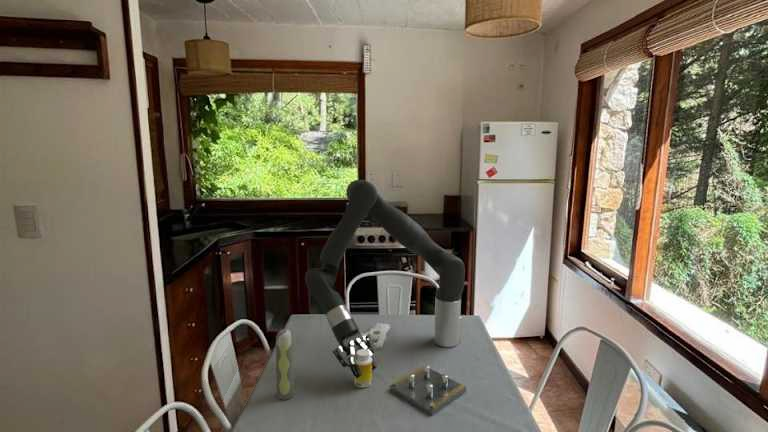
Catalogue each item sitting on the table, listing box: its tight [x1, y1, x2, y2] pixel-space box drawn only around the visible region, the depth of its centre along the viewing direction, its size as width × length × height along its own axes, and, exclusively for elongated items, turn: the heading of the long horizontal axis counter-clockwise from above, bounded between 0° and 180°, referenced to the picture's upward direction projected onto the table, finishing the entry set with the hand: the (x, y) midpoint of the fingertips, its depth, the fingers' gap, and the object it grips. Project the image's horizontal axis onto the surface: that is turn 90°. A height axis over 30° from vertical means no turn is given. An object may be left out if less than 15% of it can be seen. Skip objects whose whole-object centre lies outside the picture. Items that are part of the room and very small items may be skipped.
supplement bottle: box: [353, 348, 373, 389], centre depth 124 cm, size 6×6×10 cm
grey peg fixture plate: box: [389, 364, 467, 416], centre depth 121 cm, size 16×16×5 cm
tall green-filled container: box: [275, 328, 295, 401], centre depth 117 cm, size 5×5×20 cm
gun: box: [360, 322, 391, 350], centre depth 154 cm, size 18×3×10 cm
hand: (367, 372), depth 123 cm, fingers closed on supplement bottle, 5 cm apart
